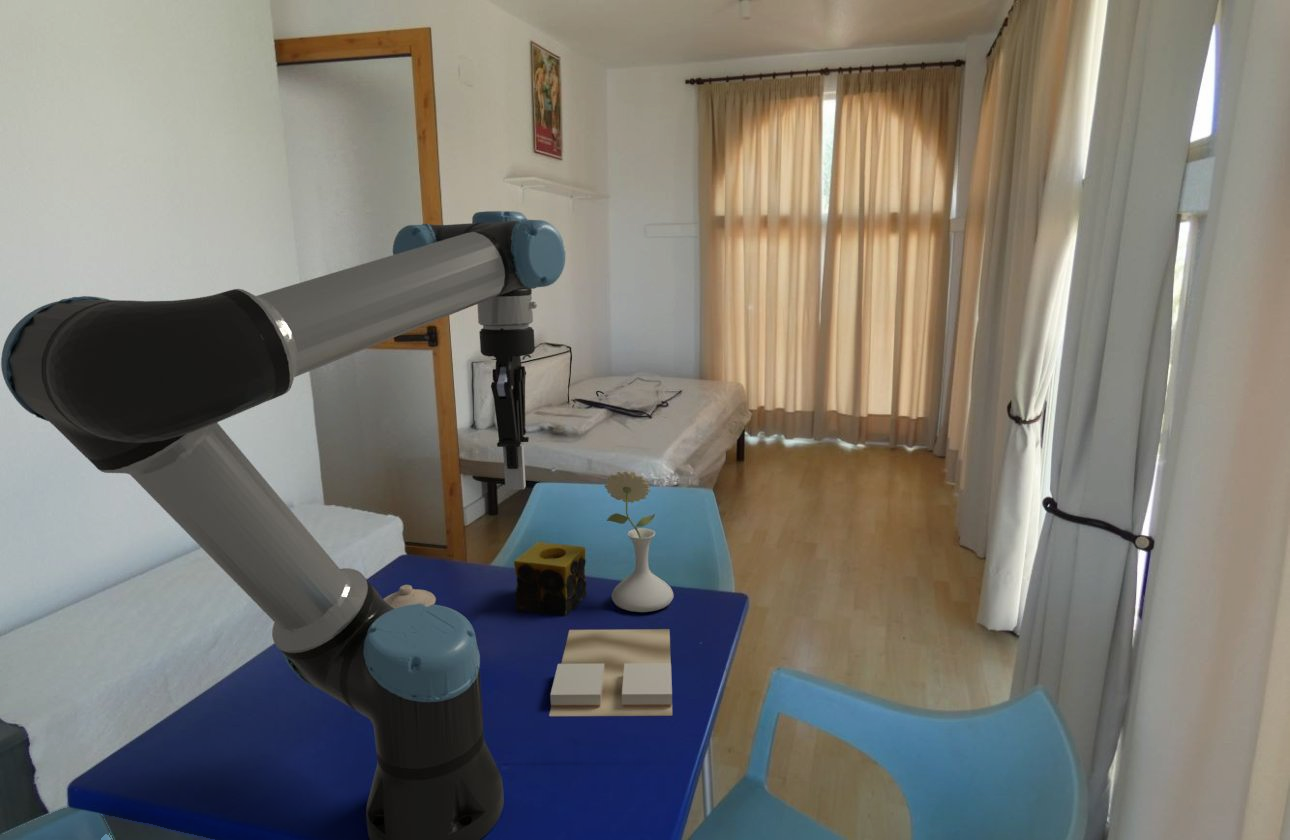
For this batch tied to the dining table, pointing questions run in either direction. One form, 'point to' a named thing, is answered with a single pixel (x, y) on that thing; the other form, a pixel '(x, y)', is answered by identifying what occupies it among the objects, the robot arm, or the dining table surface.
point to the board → (615, 665)
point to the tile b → (647, 685)
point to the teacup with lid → (410, 597)
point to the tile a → (578, 685)
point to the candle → (550, 578)
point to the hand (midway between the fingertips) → (515, 487)
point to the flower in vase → (637, 551)
